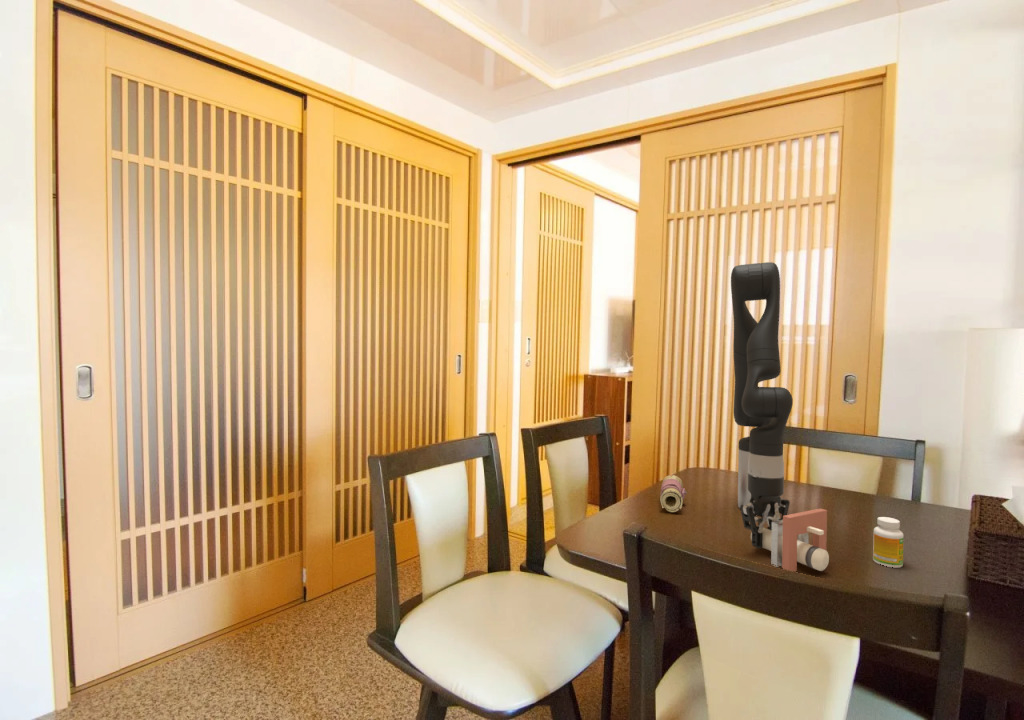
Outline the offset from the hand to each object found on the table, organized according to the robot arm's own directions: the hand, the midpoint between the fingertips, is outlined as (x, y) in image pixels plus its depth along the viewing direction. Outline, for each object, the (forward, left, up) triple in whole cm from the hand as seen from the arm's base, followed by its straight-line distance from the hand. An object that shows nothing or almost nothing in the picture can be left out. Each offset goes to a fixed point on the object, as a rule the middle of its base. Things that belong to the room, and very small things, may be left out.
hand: (764, 545), depth 122 cm
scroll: (-6, -37, -2) cm, 38 cm away
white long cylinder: (0, +6, 0) cm, 6 cm away
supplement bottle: (-19, +16, -2) cm, 25 cm away
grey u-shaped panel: (0, +7, -1) cm, 7 cm away
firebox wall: (0, +12, -1) cm, 12 cm away
